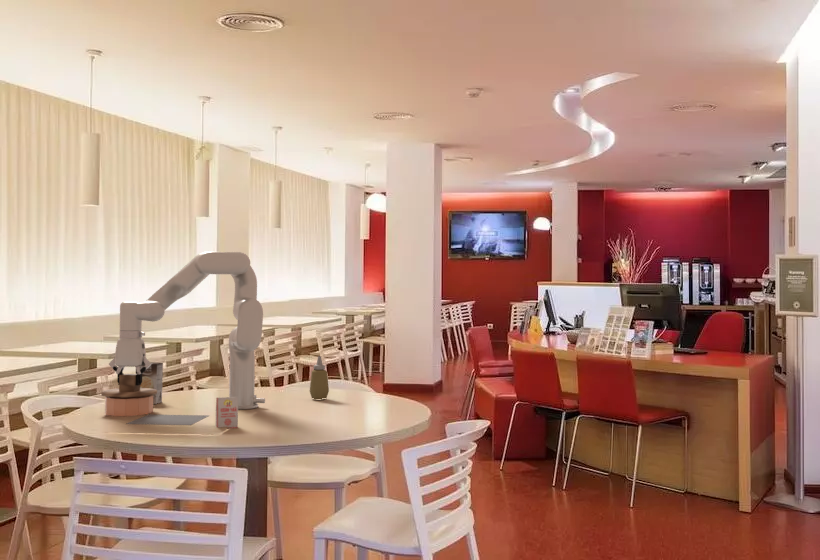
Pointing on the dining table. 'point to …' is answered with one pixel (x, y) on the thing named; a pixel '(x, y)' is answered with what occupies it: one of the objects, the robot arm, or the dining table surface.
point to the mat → (169, 419)
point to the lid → (129, 388)
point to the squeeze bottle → (319, 381)
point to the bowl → (128, 405)
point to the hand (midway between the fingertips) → (129, 384)
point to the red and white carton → (227, 412)
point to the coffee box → (153, 380)
